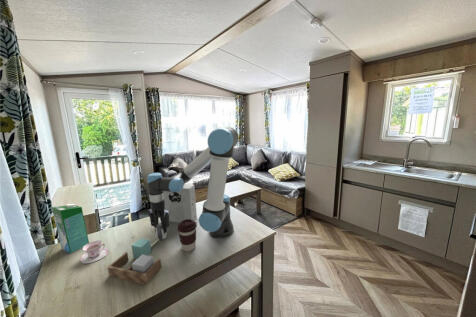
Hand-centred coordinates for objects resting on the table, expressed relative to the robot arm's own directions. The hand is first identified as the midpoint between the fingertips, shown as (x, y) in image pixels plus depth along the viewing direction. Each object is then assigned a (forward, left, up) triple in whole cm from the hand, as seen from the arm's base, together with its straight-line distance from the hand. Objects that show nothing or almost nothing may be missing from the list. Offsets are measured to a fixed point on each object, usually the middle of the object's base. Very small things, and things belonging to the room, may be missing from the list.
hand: (161, 236), depth 112 cm
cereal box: (+1, -21, -1) cm, 21 cm away
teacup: (+25, +21, -1) cm, 33 cm away
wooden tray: (-5, +25, -1) cm, 25 cm away
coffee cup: (-20, +4, -1) cm, 21 cm away
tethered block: (0, +9, 0) cm, 9 cm away
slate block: (-9, +25, -1) cm, 27 cm away
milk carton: (+43, +18, -1) cm, 46 cm away
